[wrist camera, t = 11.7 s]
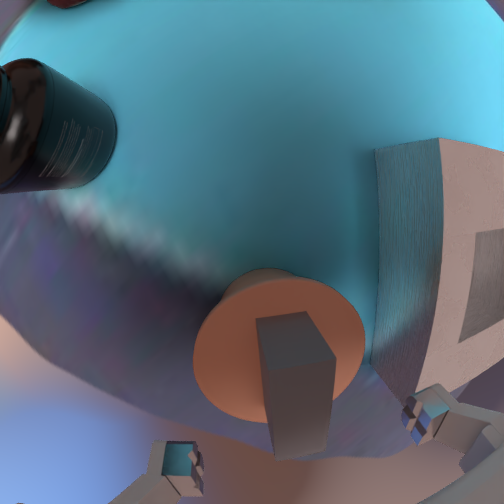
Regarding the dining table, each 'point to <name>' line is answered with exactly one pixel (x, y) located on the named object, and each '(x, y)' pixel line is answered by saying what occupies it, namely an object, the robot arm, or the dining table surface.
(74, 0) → the brown ceramic cup shape
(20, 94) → the supplement bottle
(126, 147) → the dining table surface
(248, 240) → the dining table surface
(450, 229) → the housing
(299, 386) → the end cover
